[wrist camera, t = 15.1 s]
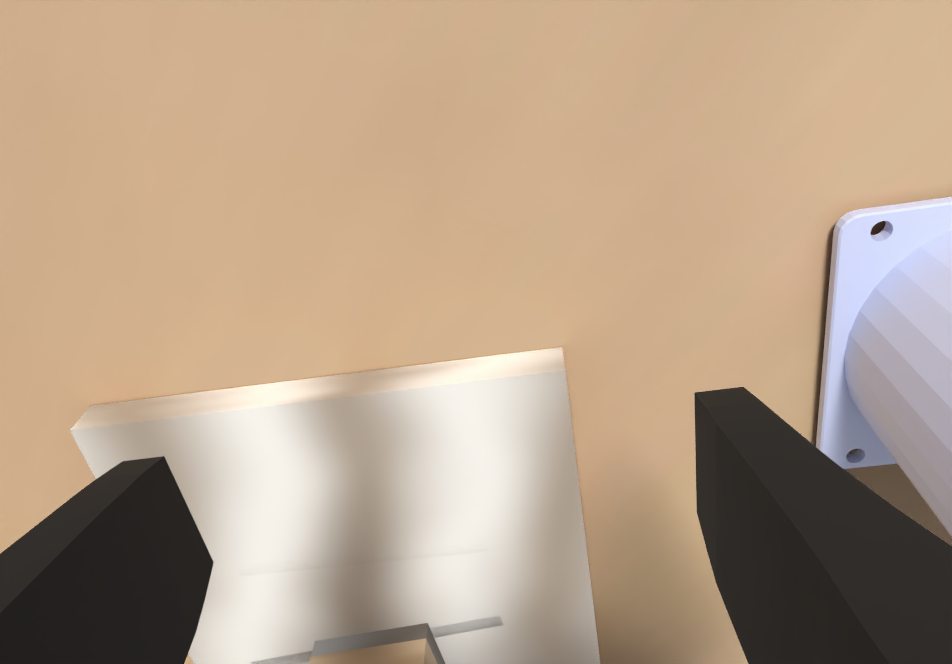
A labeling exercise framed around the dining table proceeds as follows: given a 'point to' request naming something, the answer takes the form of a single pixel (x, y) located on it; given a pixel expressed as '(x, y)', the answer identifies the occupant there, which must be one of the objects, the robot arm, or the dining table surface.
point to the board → (378, 508)
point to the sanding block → (380, 647)
